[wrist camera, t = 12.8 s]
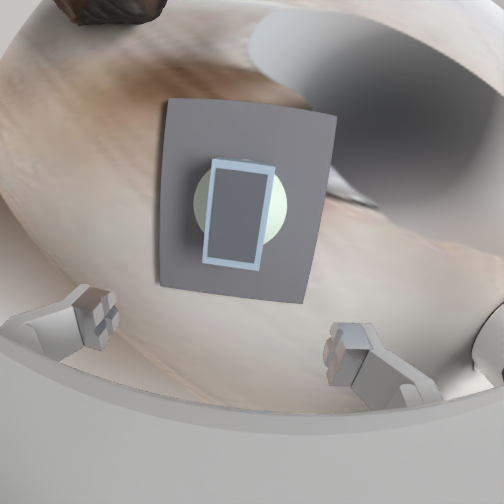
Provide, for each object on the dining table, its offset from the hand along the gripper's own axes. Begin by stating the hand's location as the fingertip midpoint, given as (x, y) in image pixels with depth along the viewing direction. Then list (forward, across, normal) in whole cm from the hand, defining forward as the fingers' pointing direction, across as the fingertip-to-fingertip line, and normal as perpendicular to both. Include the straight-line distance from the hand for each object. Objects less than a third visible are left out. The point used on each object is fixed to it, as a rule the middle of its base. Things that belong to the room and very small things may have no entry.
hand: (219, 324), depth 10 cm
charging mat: (+19, +1, 0) cm, 19 cm away
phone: (+18, +1, 0) cm, 18 cm away
